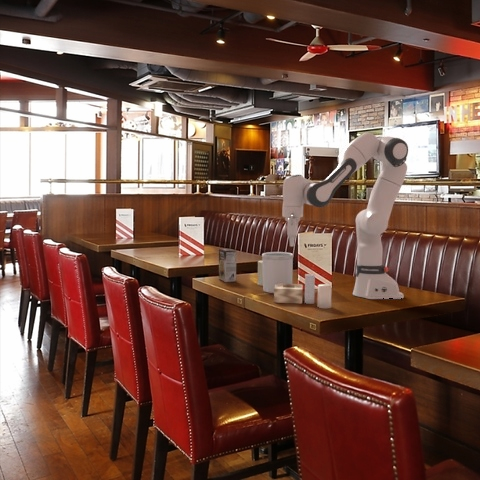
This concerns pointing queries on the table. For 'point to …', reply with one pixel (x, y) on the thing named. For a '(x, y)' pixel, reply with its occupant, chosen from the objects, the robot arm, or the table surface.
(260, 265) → the can
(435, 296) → the table surface
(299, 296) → the socket block
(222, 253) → the coffee box
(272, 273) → the utensil holder
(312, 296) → the square bar
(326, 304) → the white rounded block
